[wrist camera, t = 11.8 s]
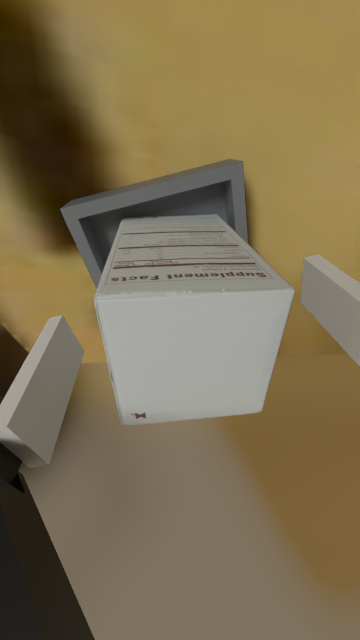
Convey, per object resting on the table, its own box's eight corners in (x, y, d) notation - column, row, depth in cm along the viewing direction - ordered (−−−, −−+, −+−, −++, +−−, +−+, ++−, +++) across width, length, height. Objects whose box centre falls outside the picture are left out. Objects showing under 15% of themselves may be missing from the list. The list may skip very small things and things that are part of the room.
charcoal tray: (229, 159, 18) (242, 161, 16) (241, 298, 25) (252, 315, 22) (71, 200, 18) (59, 208, 16) (125, 326, 25) (123, 346, 23)
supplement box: (212, 297, 23) (263, 417, 13) (130, 300, 23) (116, 431, 12) (220, 211, 19) (304, 288, 9) (119, 212, 19) (86, 297, 8)
